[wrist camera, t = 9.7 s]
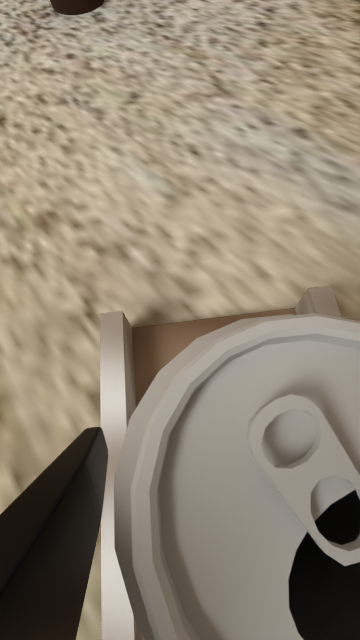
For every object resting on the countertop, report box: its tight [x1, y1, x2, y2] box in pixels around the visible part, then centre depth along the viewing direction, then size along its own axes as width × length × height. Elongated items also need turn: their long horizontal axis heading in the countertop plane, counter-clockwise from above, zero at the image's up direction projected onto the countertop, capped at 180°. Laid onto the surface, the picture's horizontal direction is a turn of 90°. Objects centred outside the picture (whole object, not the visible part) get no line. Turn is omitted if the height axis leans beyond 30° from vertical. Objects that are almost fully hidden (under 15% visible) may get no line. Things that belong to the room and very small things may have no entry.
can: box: [114, 313, 360, 640], centre depth 10 cm, size 8×8×12 cm
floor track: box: [100, 285, 342, 640], centre depth 15 cm, size 16×12×4 cm
